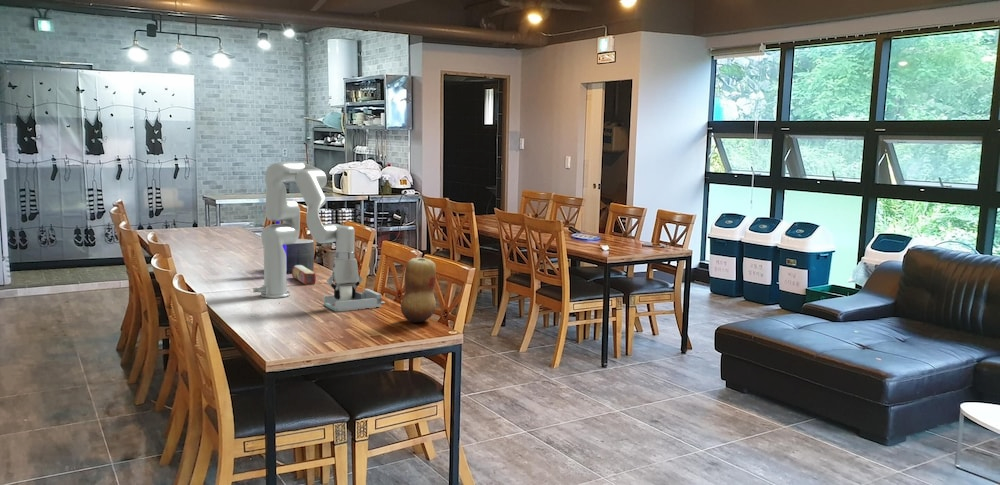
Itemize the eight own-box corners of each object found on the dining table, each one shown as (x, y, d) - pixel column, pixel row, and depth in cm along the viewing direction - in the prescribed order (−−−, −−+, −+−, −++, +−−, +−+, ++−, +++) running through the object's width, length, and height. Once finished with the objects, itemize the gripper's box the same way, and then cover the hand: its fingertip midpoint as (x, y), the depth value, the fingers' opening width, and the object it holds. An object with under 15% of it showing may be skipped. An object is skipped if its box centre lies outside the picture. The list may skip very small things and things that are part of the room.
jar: (340, 303, 316) (340, 284, 315) (335, 301, 321) (335, 282, 320) (354, 302, 320) (354, 283, 319) (349, 299, 325) (349, 281, 324)
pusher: (361, 307, 319) (361, 294, 318) (350, 302, 328) (350, 289, 327) (389, 305, 326) (390, 291, 325) (378, 300, 335) (378, 287, 334)
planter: (308, 274, 396) (308, 243, 393) (274, 273, 396) (274, 242, 394) (317, 268, 413) (317, 239, 411) (284, 267, 413) (284, 238, 411)
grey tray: (335, 311, 311) (335, 298, 311) (323, 305, 323) (323, 292, 322) (381, 307, 322) (381, 294, 322) (368, 301, 334) (368, 288, 333)
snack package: (317, 284, 368) (317, 271, 367) (303, 285, 365) (303, 271, 364) (304, 277, 386) (304, 264, 385) (291, 278, 383) (291, 265, 382)
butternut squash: (426, 327, 290) (427, 262, 286) (394, 323, 294) (395, 259, 291) (441, 320, 303) (442, 257, 299) (411, 316, 307) (411, 254, 304)
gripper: (328, 258, 310) (328, 301, 313) (368, 256, 320) (367, 298, 322) (321, 255, 316) (321, 298, 319) (361, 253, 326) (360, 295, 328)
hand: (344, 297), depth 320 cm, fingers closed on jar, 6 cm apart
